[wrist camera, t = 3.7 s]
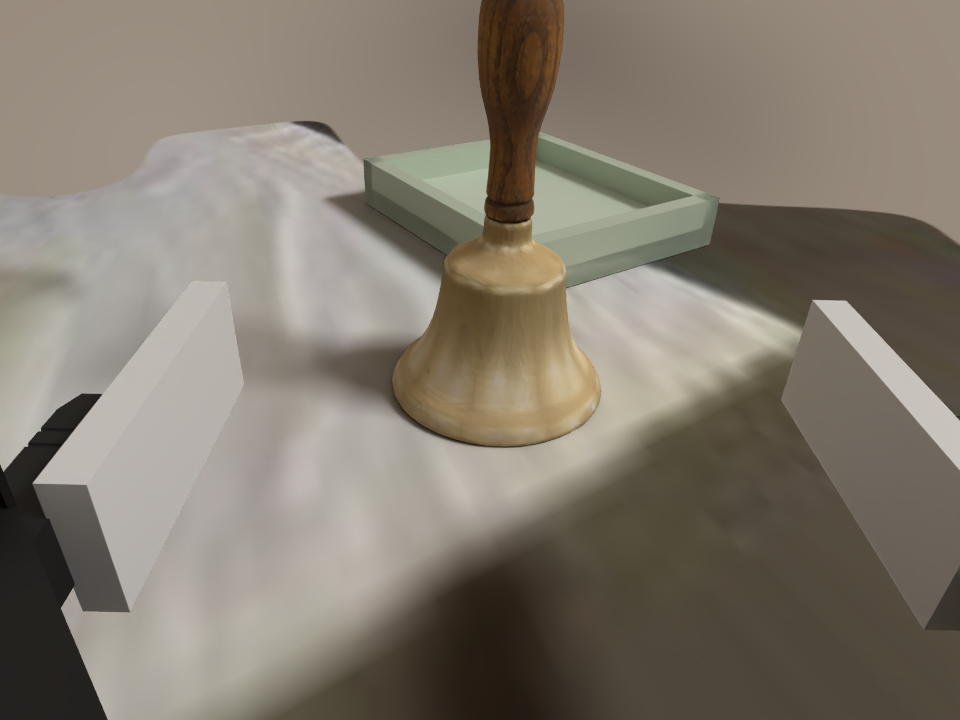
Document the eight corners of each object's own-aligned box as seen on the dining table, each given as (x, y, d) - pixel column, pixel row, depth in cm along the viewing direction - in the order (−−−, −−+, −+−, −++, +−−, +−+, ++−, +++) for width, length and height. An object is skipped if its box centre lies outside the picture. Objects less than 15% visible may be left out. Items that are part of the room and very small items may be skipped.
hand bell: (636, 374, 29) (717, -79, 21) (527, 481, 24) (579, -86, 15) (474, 313, 33) (488, -88, 25) (347, 391, 28) (310, -96, 19)
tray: (365, 202, 45) (363, 159, 44) (536, 170, 52) (539, 131, 51) (519, 302, 34) (522, 248, 33) (709, 244, 41) (719, 198, 40)
